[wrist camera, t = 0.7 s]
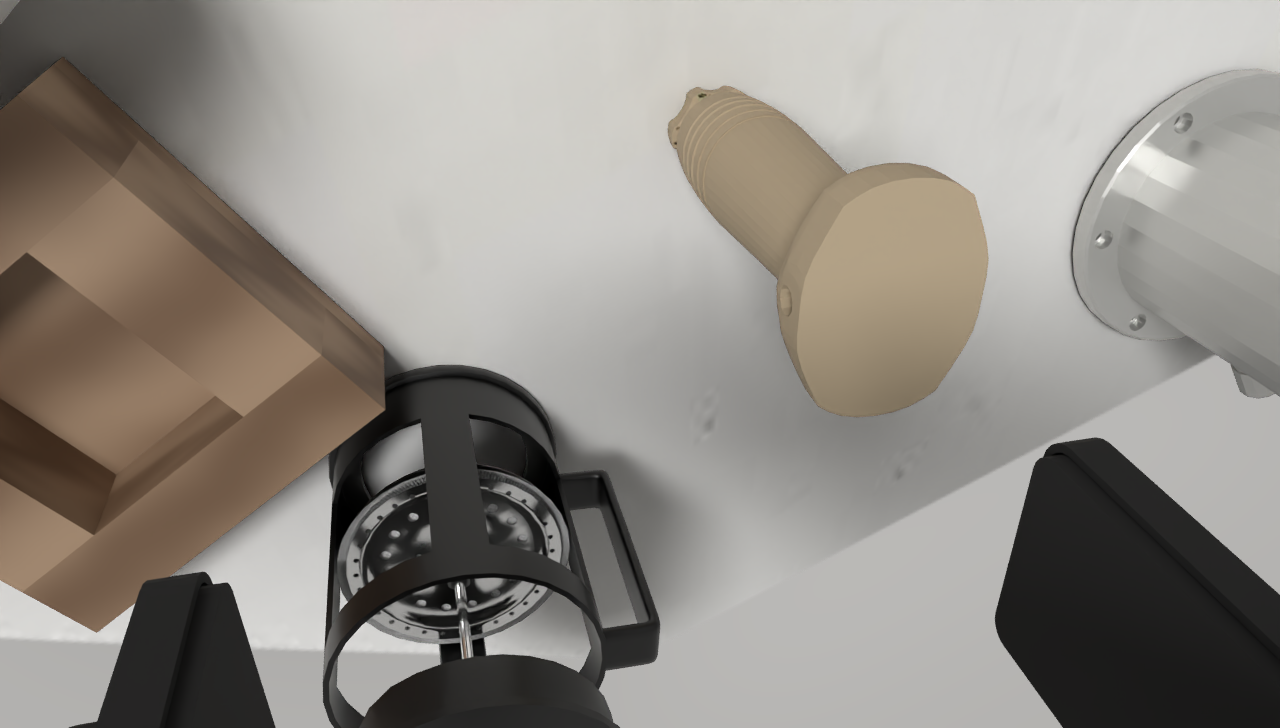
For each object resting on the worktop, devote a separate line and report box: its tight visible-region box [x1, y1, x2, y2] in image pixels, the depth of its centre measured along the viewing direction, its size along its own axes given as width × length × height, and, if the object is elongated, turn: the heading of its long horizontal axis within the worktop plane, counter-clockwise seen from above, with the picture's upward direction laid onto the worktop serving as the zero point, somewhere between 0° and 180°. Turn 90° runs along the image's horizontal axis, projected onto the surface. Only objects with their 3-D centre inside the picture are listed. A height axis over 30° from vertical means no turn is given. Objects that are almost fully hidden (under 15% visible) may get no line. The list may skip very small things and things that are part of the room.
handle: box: [668, 86, 988, 417], centre depth 29 cm, size 5×6×15 cm
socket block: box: [0, 57, 385, 633], centre depth 32 cm, size 14×14×4 cm
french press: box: [323, 365, 660, 728], centre depth 30 cm, size 12×9×23 cm
